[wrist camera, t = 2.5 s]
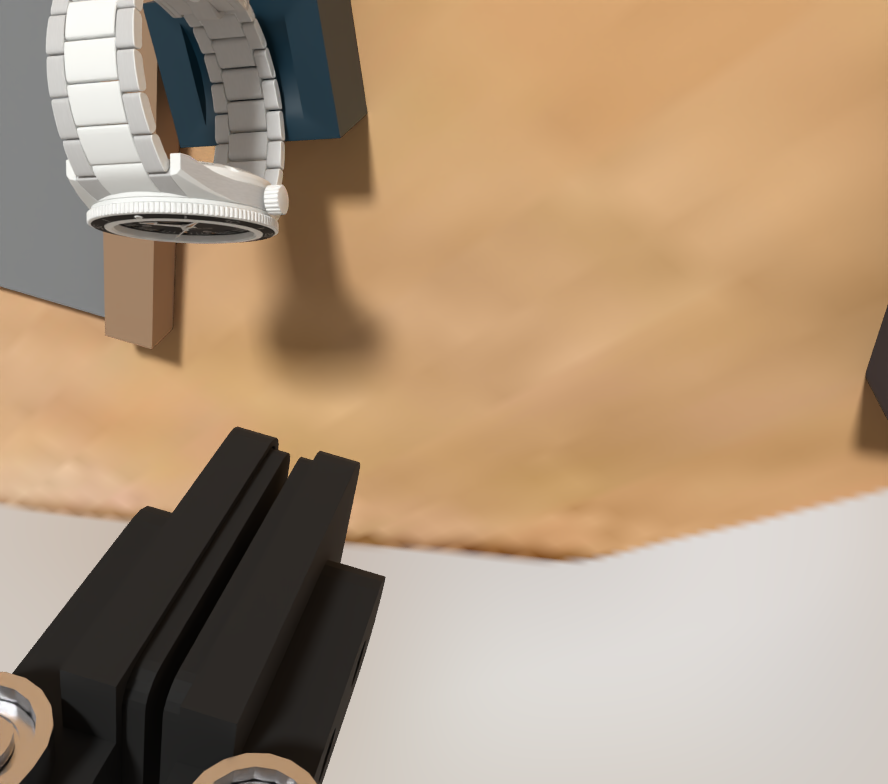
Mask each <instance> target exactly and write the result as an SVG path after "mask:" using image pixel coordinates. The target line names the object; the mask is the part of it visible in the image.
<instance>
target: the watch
mask: <svg viewBox="0 0 888 784" xmlns="http://www.w3.org/2000/svg"><path fill="white" fill-rule="evenodd" d="M142 8H143V10H144V14H145V18H146V21H147V25H148V29H149V33H150V36H151V40H152V44H153V47H154V51H155V55H156V59H157V62H158V66H159V70H160V73H161V77H162V81H163V85H164V88H165V92H166V96H167V99H168V103H169V107H170V110H171V114H172V118H173V122H174V125H175V129H176V133H177V136H178V140H179V144H180V148H185V147H201V146H216V147H215V156H214V163H209V162H201V161H197V160H195V159H194V158H192V157H191V156H189V155H186V154H182V153H171V154H170V159H168V158H167V155H166V153H165V151H164V148H163V146H162V143H161V140H160V138H159V136H158V135H157V134H152V133H153V132H154V131H155V130H156V124H155V121H154V117H153V114H152V111H151V107H150V103H149V99H148V96H147V95H146V94H145V93H143V92H138V91H144V90H145V89H146V81H145V75H144V68H143V59H142V55H141V53H140V52H139V51H138V50H136V49H140V48H141V47H142V17H141V14H140V12H139V11H141V10H142ZM51 15H52V16H50V17H49V20H48V27H47V36H46V53H47V55H49V57H47V79H48V88H49V94H50V97H51V98H62V97H69V98H62V99H53V100H52V108H53V113H54V117H55V121H56V125H57V129H58V132H59V135H60V138H61V139H67V140H65V141H63V146H64V149H65V152H66V155H67V157H68V160H66V175H67V177H68V179H69V181H70V183H71V185H72V186H73V188H74V189H75V191H76V193H77V194H78V196H79V197H80V199H81V200H82V201H83V202H84V203H85V205H86V206H87V207H88V208H89V209H90V210H89V211H88V212H87V224H88V225H89V226H91V227H93V228H95V229H98V230H100V231H103V232H106V233H110V234H114V235H119V236H125V237H131V238H138V239H145V240H153V241H163V242H176V243H204V244H213V243H238V242H250V241H257V240H263V239H267V238H270V237H273V236H275V235H277V234H278V232H279V223H278V221H277V220H278V219H279V218H280V216H281V215H285V214H286V213H287V211H288V208H289V197H288V193H287V190H286V189H285V186H283V185H282V179H283V171H282V170H283V169H284V161H285V144H284V142H283V141H299V140H316V139H332V138H341V137H342V136H343V135H344V134H345V133H346V132H348V131H349V130H350V129H351V128H352V127H353V126H354V125H355V124H356V123H357V122H358V121H360V120H361V119H362V118H363V117H364V116H365V115H366V114H367V107H366V101H365V94H364V87H363V81H362V74H361V68H360V61H359V55H358V48H357V41H356V35H355V28H354V22H353V15H352V8H351V2H350V0H154V1H150V2H146V3H143V0H53V3H52V7H51ZM111 80H119V81H111ZM99 81H111V82H99ZM87 82H99V83H87ZM75 83H87V84H75ZM74 84H75V85H74ZM128 92H138V93H128ZM120 123H124V124H120ZM106 124H110V125H106ZM92 125H96V126H92ZM77 138H79V139H77Z"/></svg>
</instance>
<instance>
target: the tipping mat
mask: <svg viewBox="0 0 888 784" xmlns="http://www.w3.org/2000/svg"><path fill="white" fill-rule="evenodd" d="M150 1H154V0H143V3H146V2H150ZM52 3H53V0H0V286H1V287H4V288H7V289H11V290H14V291H17V292H21V293H24V294H28V295H31V296H34V297H38V298H41V299H45V300H48V301H51V302H55V303H58V304H61V305H65V306H68V307H72V308H75V309H78V310H82V311H85V312H89V313H92V314H95V315H99V316H102V317H105V336H109V337H112V338H115V339H119V340H122V341H126V342H129V343H132V344H136V345H139V346H142V347H146V348H149V349H153V348H154V347H155V346H156V345H157V344H158V343H159V342H160V341H161V340H162V339H163V338H164V337H165V336H166V335H167V334H168V333H169V332H170V331H171V330H172V329H173V307H174V278H175V249H176V242H163V241H153V240H145V239H138V238H131V237H125V236H119V235H114V234H110V233H106V232H103V231H100V230H98V229H95V228H93V227H91V226H89V225H88V224H87V212H88V211H89V210H90V209H89V208H88V207H87V206H86V205H85V203H84V202H83V201H82V200H81V199H80V197H79V196H78V194H77V193H76V191H75V189H74V188H73V186H72V185H71V183H70V181H69V179H68V177H67V175H66V160H68V157H67V155H66V152H65V149H64V146H63V141H65V140H67V139H61V138H60V135H59V132H58V129H57V125H56V121H55V117H54V113H53V108H52V100H53V99H62V98H69V97H62V98H51V97H50V94H49V88H48V79H47V57H49V55H47V53H46V36H47V27H48V20H49V17H50V16H52V15H51V7H52ZM139 12H140V14H141V17H142V47H141V48H140V49H136V50H138V51H139V52H140V53H141V55H142V59H143V68H144V75H145V81H146V89H145V90H144V91H138V92H143V93H145V94H146V95H147V96H148V99H149V103H150V107H151V111H152V114H153V117H154V121H155V124H156V130H155V131H154V132H153V133H152V134H157V135H158V136H159V138H160V140H161V143H162V146H163V148H164V151H165V153H166V155H167V158H168V159H170V154H171V153H179V140H178V136H177V133H176V129H175V125H174V122H173V118H172V114H171V110H170V107H169V103H168V99H167V96H166V92H165V88H164V85H163V81H162V77H161V73H160V70H159V66H158V62H157V59H156V55H155V51H154V47H153V44H152V40H151V36H150V33H149V29H148V25H147V21H146V18H145V14H144V10H143V8H142V10H141V11H139ZM111 81H119V80H111ZM111 81H99V82H111ZM99 82H87V83H99ZM87 83H75V84H87ZM75 84H74V85H75ZM138 92H128V93H138ZM120 124H124V123H120ZM106 125H110V124H106ZM92 126H96V125H92ZM77 139H79V138H77Z"/></svg>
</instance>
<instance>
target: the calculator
mask: <svg viewBox="0 0 888 784" xmlns="http://www.w3.org/2000/svg"><path fill="white" fill-rule="evenodd" d="M866 379H867V381H868V383H869V385H870V387H871V389H872V391H873V393H874V395H875V397H876V399H877V401H878V402H879V404H880V406H881V408H882V410H883V412H884V414H885V416H886V418H887V419H888V306H887V309H886V312H885V315H884V318H883V321H882V324H881V327H880V330H879V333H878V337H877V340H876V343H875V346H874V349H873V352H872V355H871V358H870V361H869V364H868V367H867V371H866Z"/></svg>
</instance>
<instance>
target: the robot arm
mask: <svg viewBox="0 0 888 784" xmlns="http://www.w3.org/2000/svg"><path fill="white" fill-rule="evenodd" d="M278 445H279V443H278V439H277V438H275V437H271V436H268V435H264V434H261V433H257V432H254V431H251V430H247V429H244V428H240V427H235V428H234V429H233V430H232V431H231V432H230V433H229V435H228V436H227V438H226V439H225V440H224V442H223V443H222V444H221V446H220V447H219V449H218V450H217V451H216V453H215V454H214V456H213V457H212V458H211V460H210V461H209V463H208V464H207V465H206V467H205V468H204V470H203V471H202V472H201V474H200V475H199V476H198V478H197V479H196V481H195V482H194V483H193V485H192V486H191V488H190V489H189V490H188V492H187V493H186V495H185V496H184V497H183V499H182V500H181V501H180V503H179V504H178V506H177V507H176V508H175V510H174V511H173V513H170V512H167V511H164V510H160V509H157V508H153V507H150V506H147V507H145V508H143V509H141V510H140V511H139V512H138V513H137V514H136V515H135V516H134V517H133V519H132V520H131V521H130V522H129V524H128V525H127V527H126V528H125V529H124V530H123V532H122V533H121V534H120V535H119V537H118V538H117V539H116V540H115V542H114V543H113V544H112V546H111V547H110V548H109V550H108V551H107V552H106V554H105V555H104V556H103V558H102V559H101V560H100V561H99V562H98V564H97V565H96V566H95V568H94V569H93V570H92V571H91V573H90V574H89V575H88V577H87V578H86V579H85V581H84V582H83V583H82V584H81V586H80V587H79V588H78V589H77V591H76V592H75V593H74V595H73V596H72V597H71V599H70V600H69V601H68V602H67V604H66V605H65V606H64V608H63V609H62V610H61V611H60V613H59V614H58V615H57V617H56V618H55V619H54V621H53V622H52V623H51V624H50V626H49V627H48V628H47V629H46V631H45V632H44V633H43V635H42V636H41V637H40V639H39V640H38V641H37V643H36V644H35V645H34V646H33V647H32V649H31V650H30V651H29V653H28V654H27V655H26V657H25V658H24V659H23V660H22V662H21V663H20V664H19V666H18V667H17V668H16V669H15V671H14V672H13V673H12V674H10V673H7V672H0V784H322V782H323V779H324V776H325V773H326V770H327V767H328V764H329V761H330V758H331V755H332V752H333V749H334V746H335V743H336V740H337V737H338V734H339V731H340V728H341V725H342V722H343V720H344V717H345V714H346V711H347V708H348V705H349V702H350V699H351V696H352V692H353V690H354V687H355V684H356V681H357V678H358V675H359V672H360V669H361V666H362V662H363V659H364V656H365V653H366V649H367V646H368V643H369V639H370V636H371V633H372V629H373V625H374V622H375V618H376V614H377V610H378V606H379V603H380V599H381V595H382V590H383V586H384V582H385V577H384V576H381V575H378V574H374V573H371V572H367V571H364V570H361V569H358V568H354V567H351V566H348V565H344V564H341V563H340V562H341V557H342V553H343V548H344V543H345V538H346V533H347V528H348V523H349V519H350V514H351V509H352V504H353V499H354V494H355V490H356V485H357V480H358V475H359V469H360V463H359V462H356V461H353V460H350V459H346V458H343V457H339V456H336V455H332V454H329V453H326V452H322V451H319V452H318V453H317V455H316V456H315V458H314V460H310V459H307V458H303V457H300V458H299V460H298V461H297V463H296V464H295V466H294V468H293V470H292V471H291V473H290V475H289V477H288V470H289V463H290V454H289V453H286V452H283V451H279V450H278ZM287 477H288V478H287Z"/></svg>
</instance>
